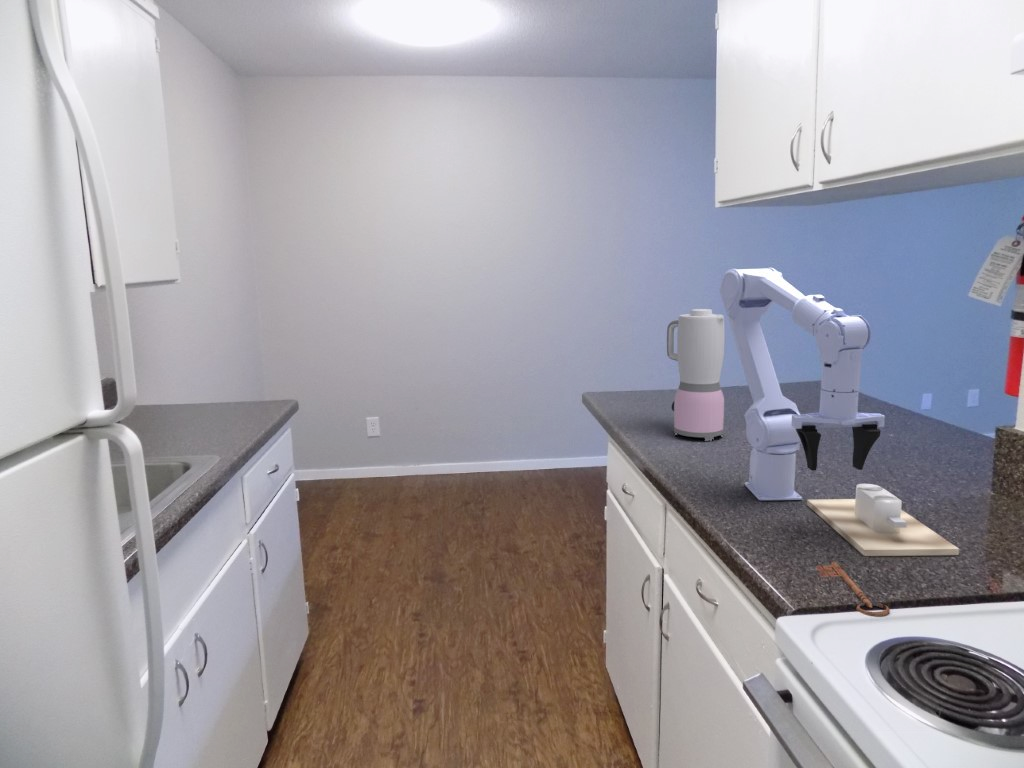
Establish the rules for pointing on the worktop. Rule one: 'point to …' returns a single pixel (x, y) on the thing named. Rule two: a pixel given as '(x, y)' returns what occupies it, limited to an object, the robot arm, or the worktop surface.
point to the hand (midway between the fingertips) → (834, 468)
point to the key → (853, 587)
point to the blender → (698, 373)
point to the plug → (878, 509)
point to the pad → (874, 543)
